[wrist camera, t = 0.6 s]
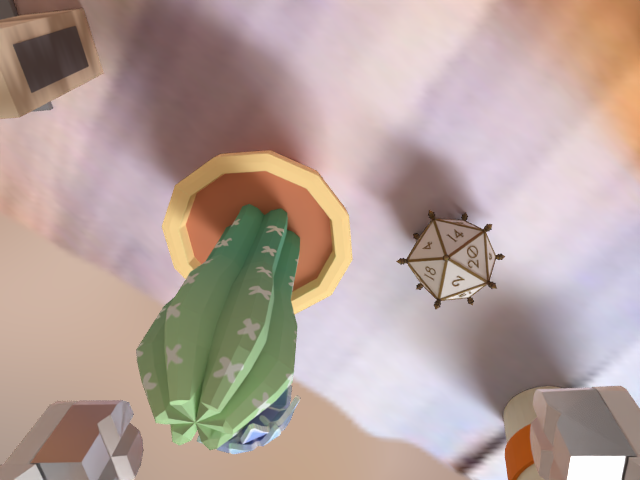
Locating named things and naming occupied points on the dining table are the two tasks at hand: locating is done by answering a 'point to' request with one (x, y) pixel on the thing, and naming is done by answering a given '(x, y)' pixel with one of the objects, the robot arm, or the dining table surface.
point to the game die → (452, 259)
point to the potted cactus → (240, 296)
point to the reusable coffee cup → (520, 435)
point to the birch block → (44, 59)
